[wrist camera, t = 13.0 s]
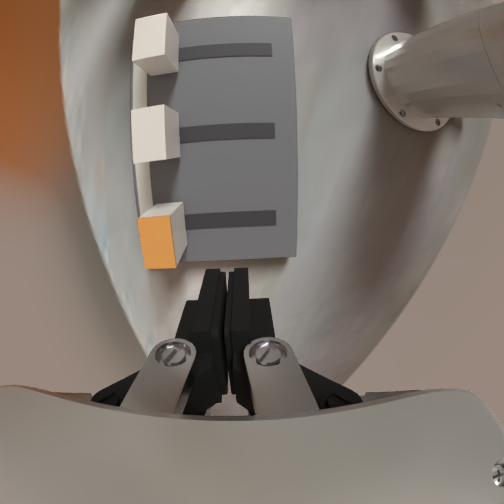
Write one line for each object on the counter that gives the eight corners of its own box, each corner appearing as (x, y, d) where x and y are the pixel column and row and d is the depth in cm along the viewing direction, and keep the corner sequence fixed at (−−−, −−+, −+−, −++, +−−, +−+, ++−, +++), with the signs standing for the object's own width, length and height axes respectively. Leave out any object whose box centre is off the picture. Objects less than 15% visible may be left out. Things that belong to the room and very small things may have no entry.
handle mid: (178, 113, 20) (164, 104, 16) (180, 157, 22) (166, 159, 17) (151, 116, 20) (131, 110, 16) (153, 160, 22) (133, 163, 17)
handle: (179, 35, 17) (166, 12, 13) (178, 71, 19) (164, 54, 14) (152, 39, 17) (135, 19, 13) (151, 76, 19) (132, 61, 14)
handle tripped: (183, 201, 23) (169, 216, 18) (187, 244, 25) (176, 268, 20) (156, 203, 23) (137, 218, 18) (161, 245, 25) (145, 269, 20)
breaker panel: (286, 27, 20) (291, 17, 18) (291, 247, 29) (296, 257, 26) (141, 38, 19) (133, 30, 17) (152, 254, 28) (145, 264, 26)
